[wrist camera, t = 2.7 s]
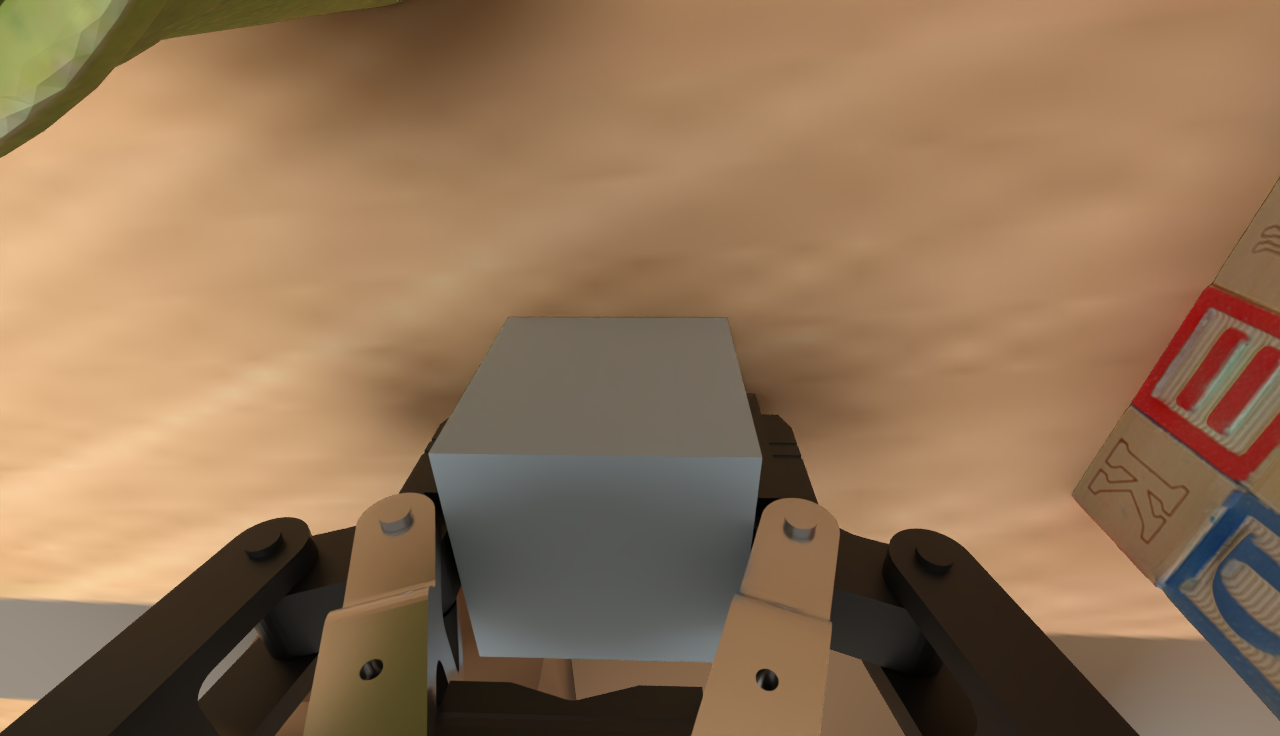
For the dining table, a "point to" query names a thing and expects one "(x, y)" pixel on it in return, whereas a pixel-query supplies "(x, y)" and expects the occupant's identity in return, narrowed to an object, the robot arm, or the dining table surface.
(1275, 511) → the stack of blocks
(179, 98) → the dining table surface
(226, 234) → the dining table surface
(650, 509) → the bluegrey cube
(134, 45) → the plant pot
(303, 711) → the walnut base
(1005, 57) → the dining table surface
